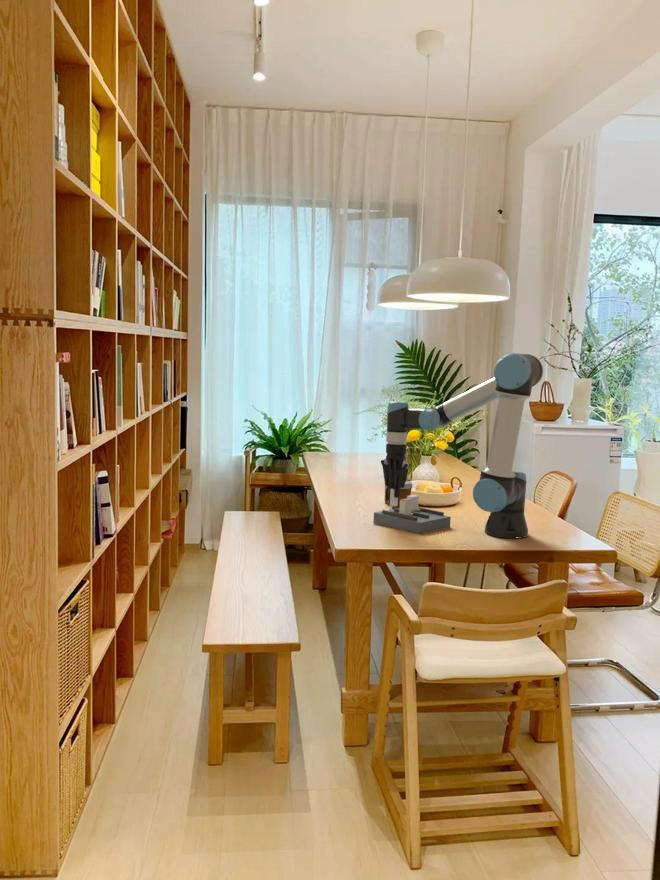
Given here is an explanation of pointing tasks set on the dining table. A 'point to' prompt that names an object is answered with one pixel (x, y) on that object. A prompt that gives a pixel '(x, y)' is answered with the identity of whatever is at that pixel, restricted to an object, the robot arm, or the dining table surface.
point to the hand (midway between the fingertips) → (393, 505)
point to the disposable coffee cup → (404, 492)
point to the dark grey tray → (413, 518)
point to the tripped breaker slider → (406, 506)
